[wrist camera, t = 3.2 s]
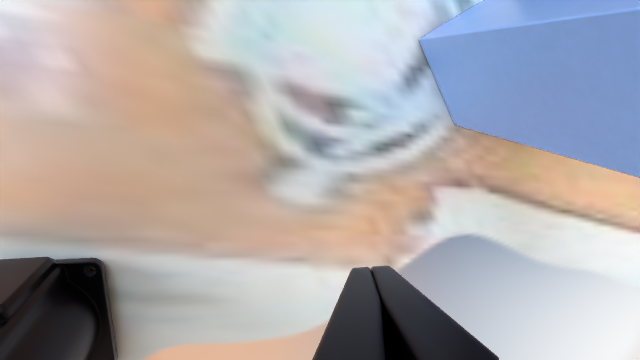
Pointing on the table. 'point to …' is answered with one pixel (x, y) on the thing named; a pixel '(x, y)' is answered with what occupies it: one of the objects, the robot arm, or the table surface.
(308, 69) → the table surface
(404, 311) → the robot arm
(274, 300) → the table surface
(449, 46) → the blue block
